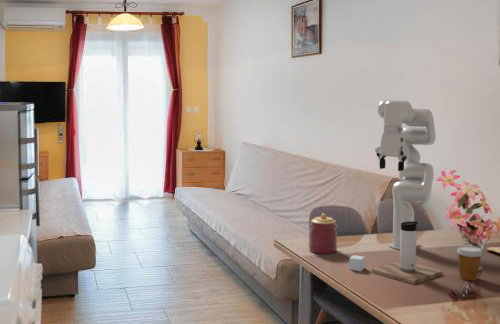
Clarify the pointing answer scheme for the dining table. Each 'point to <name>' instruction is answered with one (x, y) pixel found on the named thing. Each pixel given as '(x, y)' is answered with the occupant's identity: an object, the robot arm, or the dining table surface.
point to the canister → (323, 235)
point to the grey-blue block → (356, 263)
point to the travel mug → (408, 246)
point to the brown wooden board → (407, 273)
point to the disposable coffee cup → (469, 262)
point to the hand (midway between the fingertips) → (391, 169)
